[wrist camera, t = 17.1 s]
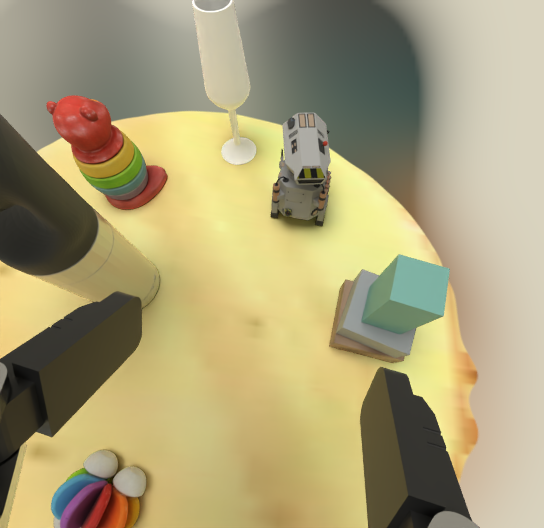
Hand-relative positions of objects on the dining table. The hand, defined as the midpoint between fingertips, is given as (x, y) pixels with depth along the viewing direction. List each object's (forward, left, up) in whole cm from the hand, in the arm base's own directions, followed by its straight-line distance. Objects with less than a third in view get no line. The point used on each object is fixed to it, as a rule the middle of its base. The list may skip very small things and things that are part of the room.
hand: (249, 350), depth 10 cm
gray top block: (+11, +11, -30) cm, 34 cm away
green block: (+11, +11, -26) cm, 30 cm away
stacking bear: (-33, +24, -35) cm, 53 cm away
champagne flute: (-17, +37, -35) cm, 53 cm away
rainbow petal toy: (-16, -19, -35) cm, 43 cm away
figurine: (-3, +29, -35) cm, 45 cm away
